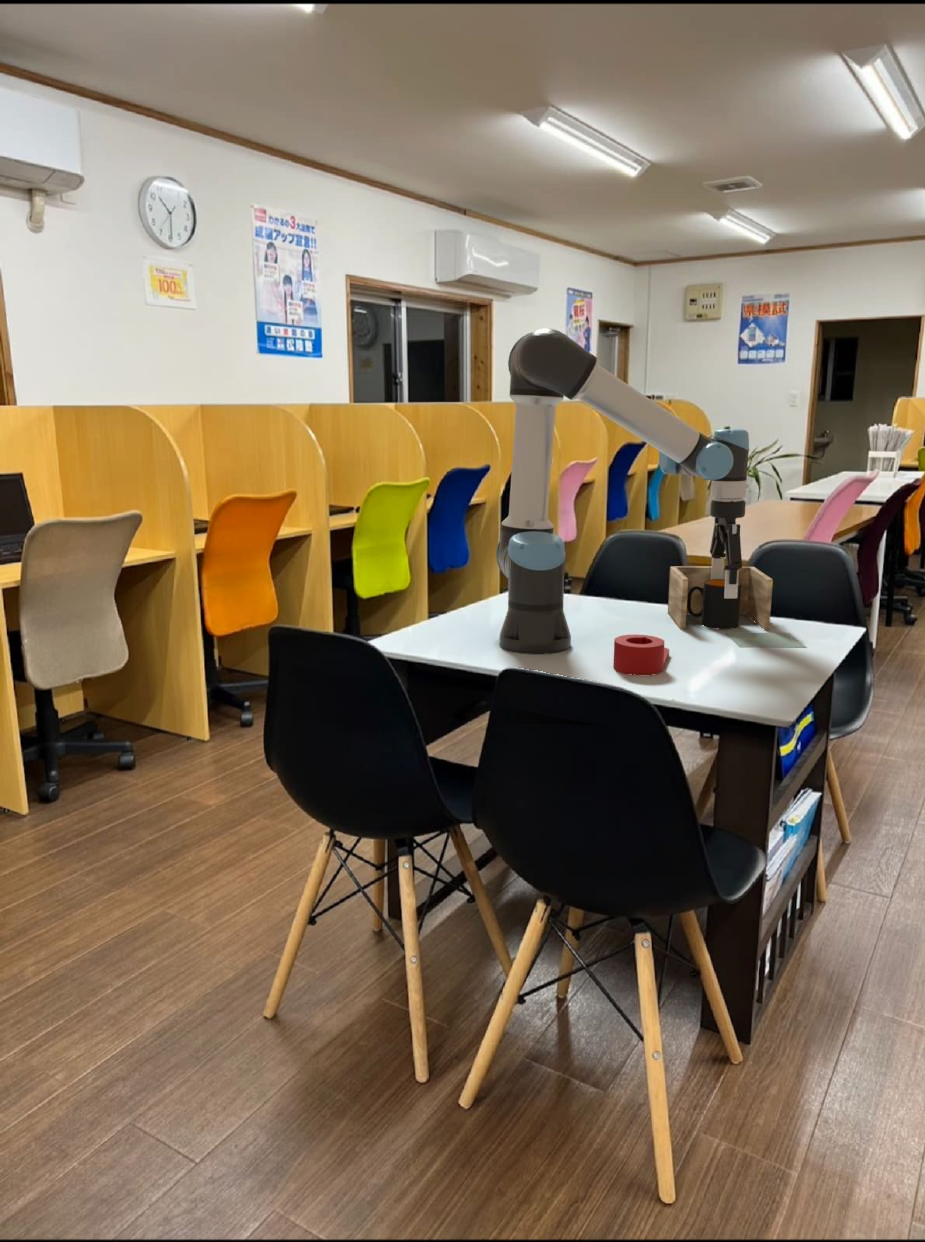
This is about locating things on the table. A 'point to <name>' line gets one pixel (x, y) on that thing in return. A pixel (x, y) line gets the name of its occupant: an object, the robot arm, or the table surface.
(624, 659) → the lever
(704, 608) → the mug
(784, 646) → the mat
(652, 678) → the table surface
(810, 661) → the table surface
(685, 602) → the cubby
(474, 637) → the table surface
